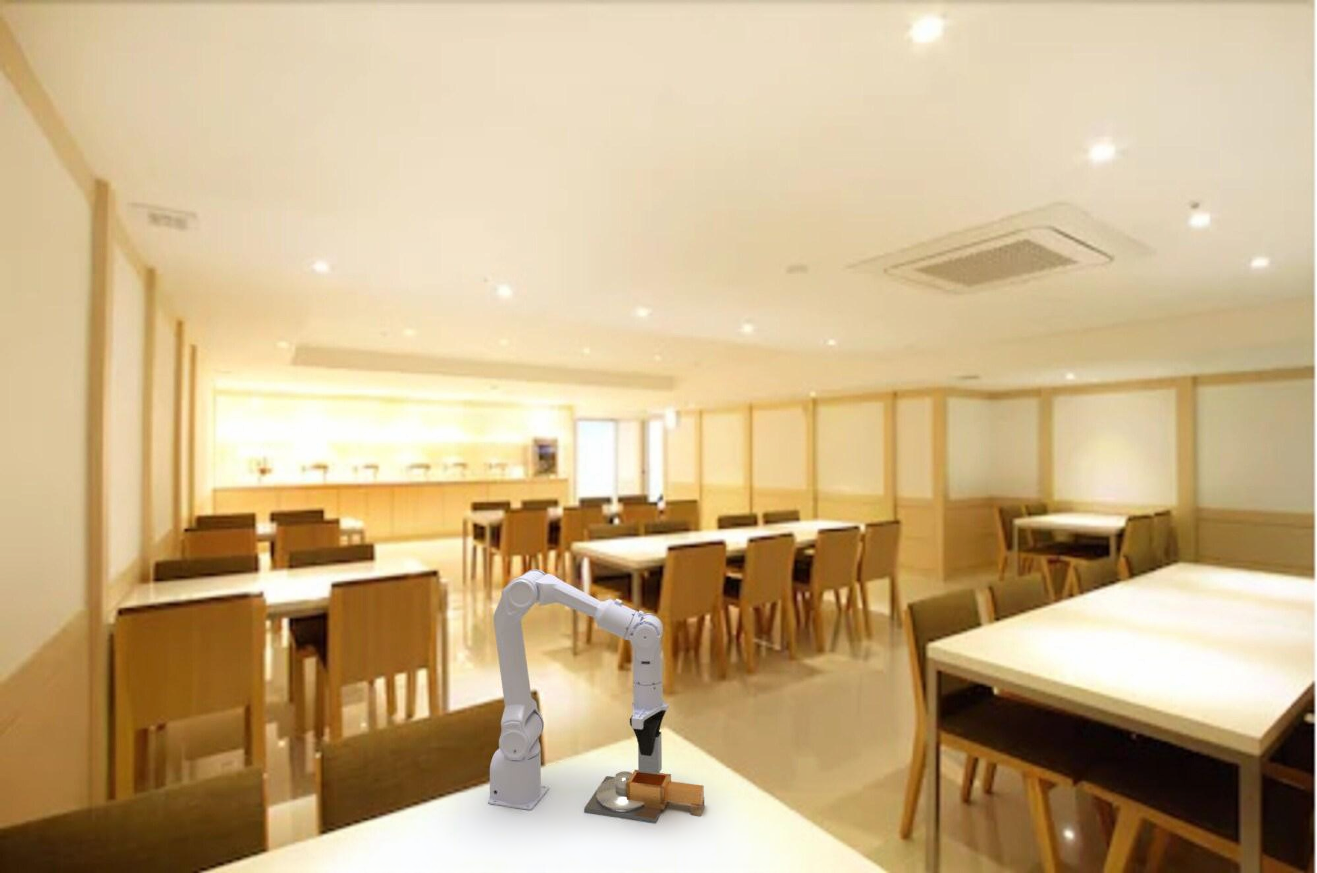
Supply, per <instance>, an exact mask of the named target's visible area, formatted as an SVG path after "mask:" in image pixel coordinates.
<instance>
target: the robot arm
mask: <svg viewBox="0 0 1317 873" xmlns="http://www.w3.org/2000/svg"><path fill="white" fill-rule="evenodd" d="M497 603H498V604H497V606H496V609H495V611H494V613H493V619H492V620H493V625H494V626H493V627H494V635H495V642H496V650H497V657H498V663H499V664H498V665H499V670H500V671H499V672H500V680H501V687H502V694H503V702H504V709H503V713H502V717H501V720H500V727H501V728H500V729H501V732H500V736H499V739H498V747H499V748H498V749H497V750H495V752H494V753H493V755H492V759H491V760H490V761H491V762H490V765H489V799H488V801H487V805H488V804H489V805H494V806H499V807H507V808H513V809H519V810H525V811H526V810H527V811H532V810H533V809H534V808H535V807H536V805H537V804H538V803H539V802H540V801H541V800H542V798H543V797H544V796H545V795H546V793H547V792H548V791H550V790H549V789H550V787H549V786H547V785H542V783H541V781H542V778H541V777H542V776H541V775H542V769H541V768H542V764H541V750H542V749H541V748H542V746H541V744H540V742H539V738H540V736H541V735H542V733H543V731H544V729H545V728H544V727H545V722H544V719H543V718H544V717H543V716H542V714H541V713H540V711H539V709H538V704H537V701H536V700H535V699H534V698H533V697H532V691H531V685H530V678H529V669H528V663H527V654H526V648H525V647H526V646H525V641H524V640H525V639H524V633H523V625H522V619H523V618H524V617H525V616H526V614H527V613H528V612H529V610H530V609H531V608H532V607H533V606H534V605H535V604H537V603H538V606H539V607H541V606H543V607H544V606H546V605H552V604H556V603H557V604H559V605H563V606H565V607H567V608H570V609H572V610H574V611H577V612H579V613H582V614H584V615H587V616H589V617H592V618H594V620H595V623H596V626H597V627H598V628H600V629H602V630H604V631H606V632H608V633H611V634H613V635H615V636H617V637H620V638H621V639H623V640H626V641H629V642H630V644H631V646H632V648H633V656H632V690H633V691H632V694H633V695H632V700H633V701H632V706H631V707H632V715H631V717H630V718H629V725H630V727H631V728H632V730H633V732H634V735H635V737H636V741H637V744H638V745H639V750H640V753H641V755H645V756H651V755H652V752H653V747H654V738H655V733H656V731H658V732H660V730H661V725H662V722H663V719H664V716H665V715H666V713H667V710H668V709H669V708H670V706H669V704H670V703H668V702H664V699H663V698H664V697H663V695H664V692H663V690H664V689H663V655H662V636H663V633H664V627H663V623H662V621H661V619H660V618H658V617H657V616H656V615H655V614H653V613H649V612H648V613H646V612H644V611H643V610H639V611H637V610H635V609H633V608H631V607H630V606H629V607H628V606H626V605H624V604H622V603H623V600H621V599H619V598H616V599H615V600H613V599H612V598H609V599H607V600H603V601H601V600H599V599H597V598H595V597H593V596H592V595H589V593H586V592H584V591H582V590H580V589H578V588H577V587H575V586H573V585H571V584H569V583H567V582H565V581H563V580H561V579H559V578H558V577H557V576H555V575H553V574H551V573H545V572H544V571H543V570H541V569H530V570H528V571H526V572H525V573H523V574H522V575H520V576H519V577H516V578H513V579H512V580H511V581H510V582H509V583H508V584H507V585H506V586H505V587H504V588H503V589H502V591H501V596H500V599H499V601H498V602H497ZM638 745H637V746H638Z"/></svg>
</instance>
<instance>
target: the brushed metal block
mask: <svg viewBox="0 0 1317 873" xmlns="http://www.w3.org/2000/svg"><path fill="white" fill-rule="evenodd" d="M637 750H638V751H637V752H638V753H637V754H638V755H637V758H638V759H637V760H638V764H637V765H638V769H637V770H638V772H643V773H650V774H658V775H659V773H661V771H662V769H663V766H662V762H663V760H662V758H663V756H662V754H663V752H662V731H659V732H658V731H656V733H655V738H654V747H653V752H652V755H651V756H645V755H641V753H640V750H639V745H637Z"/></svg>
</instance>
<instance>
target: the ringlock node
mask: <svg viewBox="0 0 1317 873" xmlns="http://www.w3.org/2000/svg"><path fill="white" fill-rule="evenodd" d="M704 788H705V786H704V785H702V784H694V783H688V782H687V783H686V782H679V781H673V780H672V774H671V773H664V772H660V773H659V775H658V774H650V773H643V772H638V769H634V770H633V772H631V771H628V770H627V771H626V770H625V771H619V772H618V773H616V774H615V776H609V775H606V776H605V777H604V778H603V781H602V782H601V783H600V785H599V786H598V788H597V789H596V790H595V792H594V793H593V795H592V796H591V798H590V799H589V801H588V802H587V803H586V805H585V806H584V808H583V809H584V810H583V812H584V813H587V814H593V815H598V816H599V815H600V816H605V817H606V816H607V817H612V818H619V819H627V820H630V821H631V820H632V821H638V822H644V823H645V822H646V823H652V824H656V823H657V821H658V820H659V817H660V815H661V813H662V811H663V810H665V808H666V805H667V804H668V802H670V803H677V804H686V805H690V806H689V815H691V816H696V817H697V816H698V817H701V816H702V814H703V810H704V808H705V796H704V794H705V789H704Z"/></svg>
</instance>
